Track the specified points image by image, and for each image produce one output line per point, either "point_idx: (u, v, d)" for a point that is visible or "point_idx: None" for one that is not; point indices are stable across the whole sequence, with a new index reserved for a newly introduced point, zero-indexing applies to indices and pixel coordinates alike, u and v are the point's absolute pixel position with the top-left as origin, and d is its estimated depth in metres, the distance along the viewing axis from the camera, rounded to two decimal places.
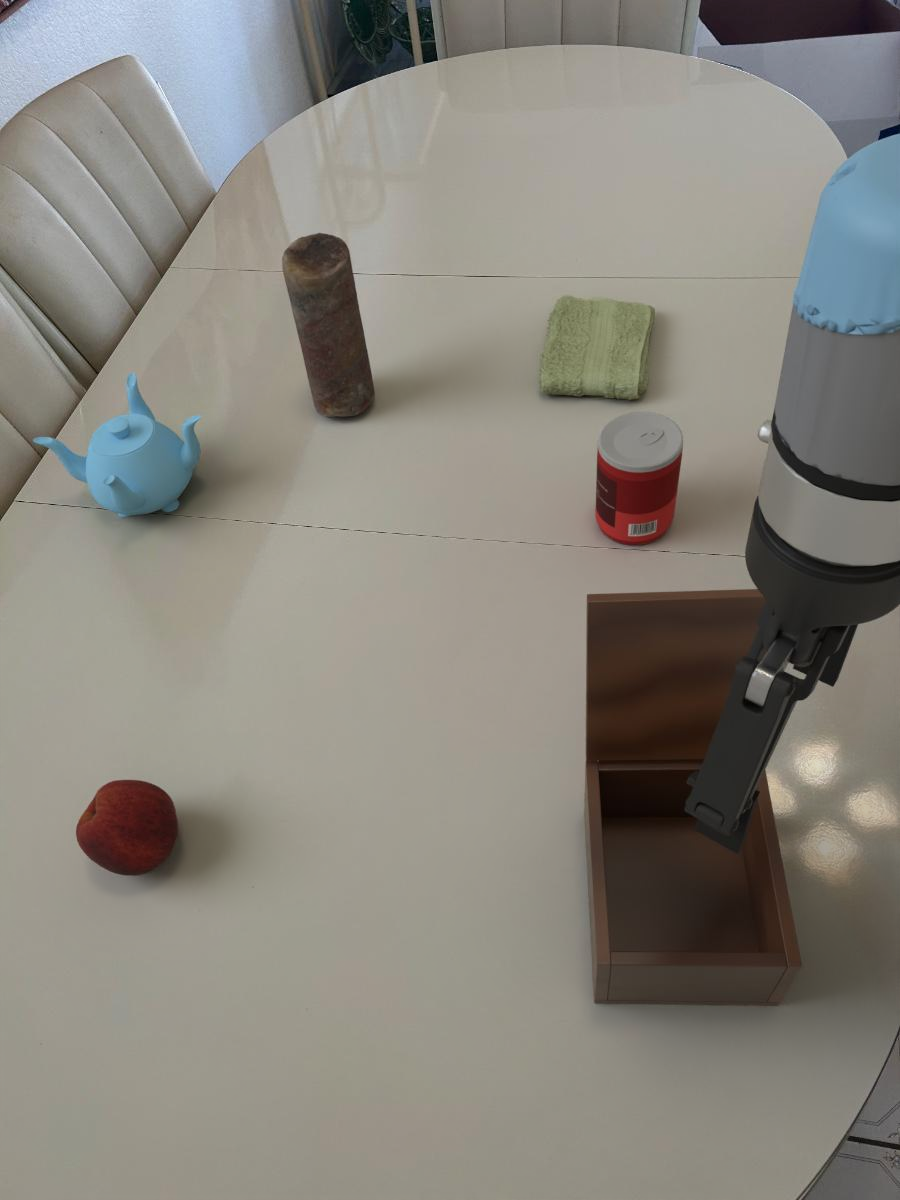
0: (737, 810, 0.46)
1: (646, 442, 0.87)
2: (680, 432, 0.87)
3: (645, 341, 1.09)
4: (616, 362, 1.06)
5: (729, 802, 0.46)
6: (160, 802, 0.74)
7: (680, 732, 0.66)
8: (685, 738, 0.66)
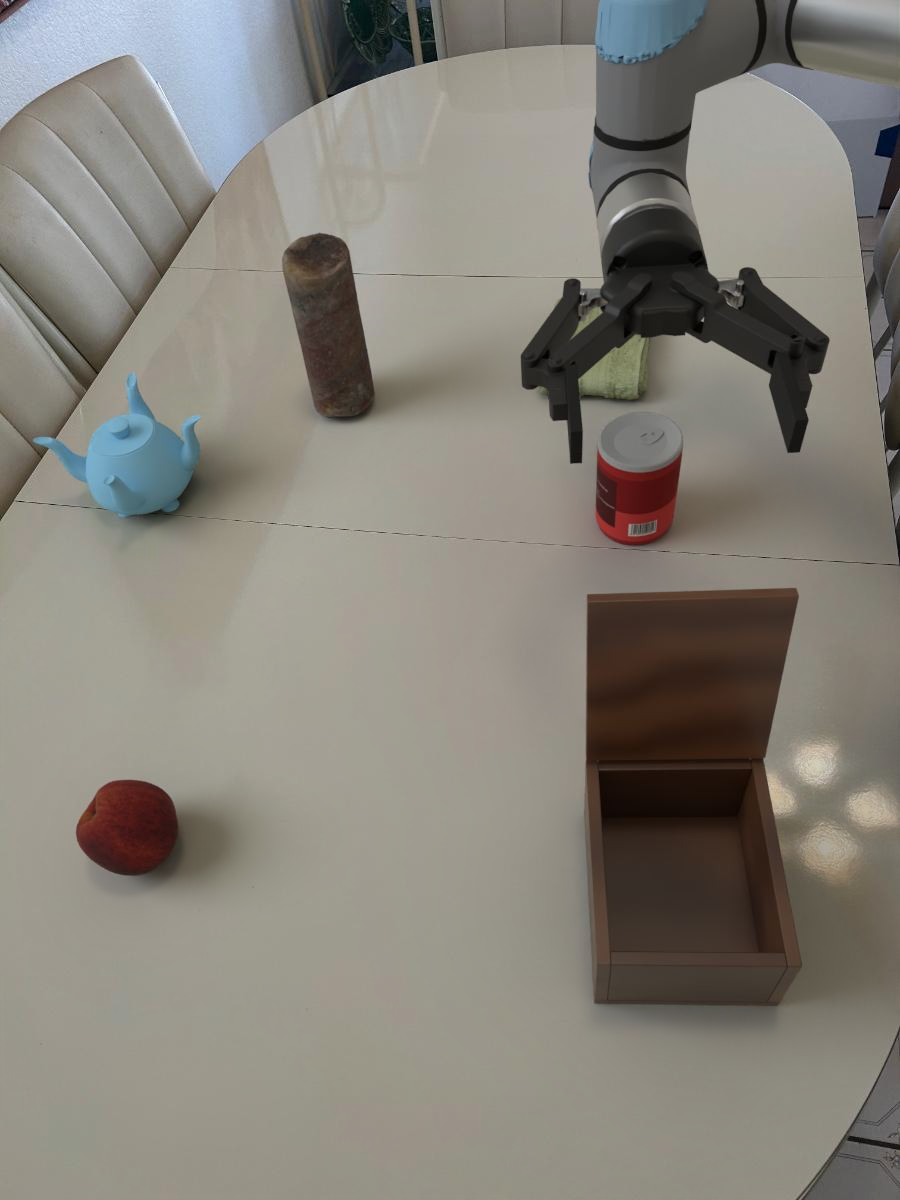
0: (529, 343, 0.64)
1: (646, 442, 0.87)
2: (680, 432, 0.87)
3: (645, 341, 1.09)
4: (616, 362, 1.06)
5: None
6: (160, 802, 0.74)
7: (680, 732, 0.66)
8: (685, 738, 0.66)
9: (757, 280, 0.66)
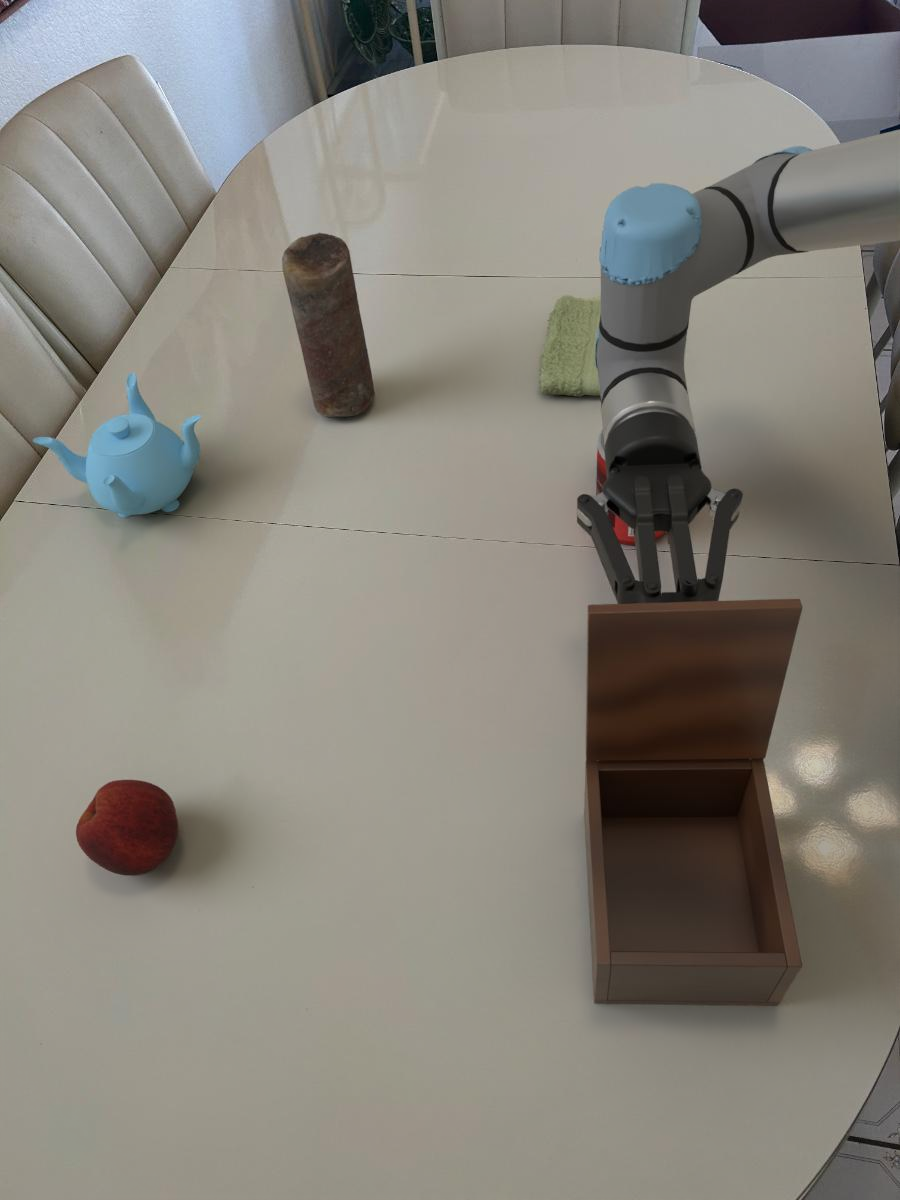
0: (613, 568, 0.68)
1: None
2: None
3: None
4: None
5: (612, 571, 0.69)
6: (160, 802, 0.74)
7: (680, 734, 0.66)
8: (685, 740, 0.66)
9: (732, 504, 0.71)
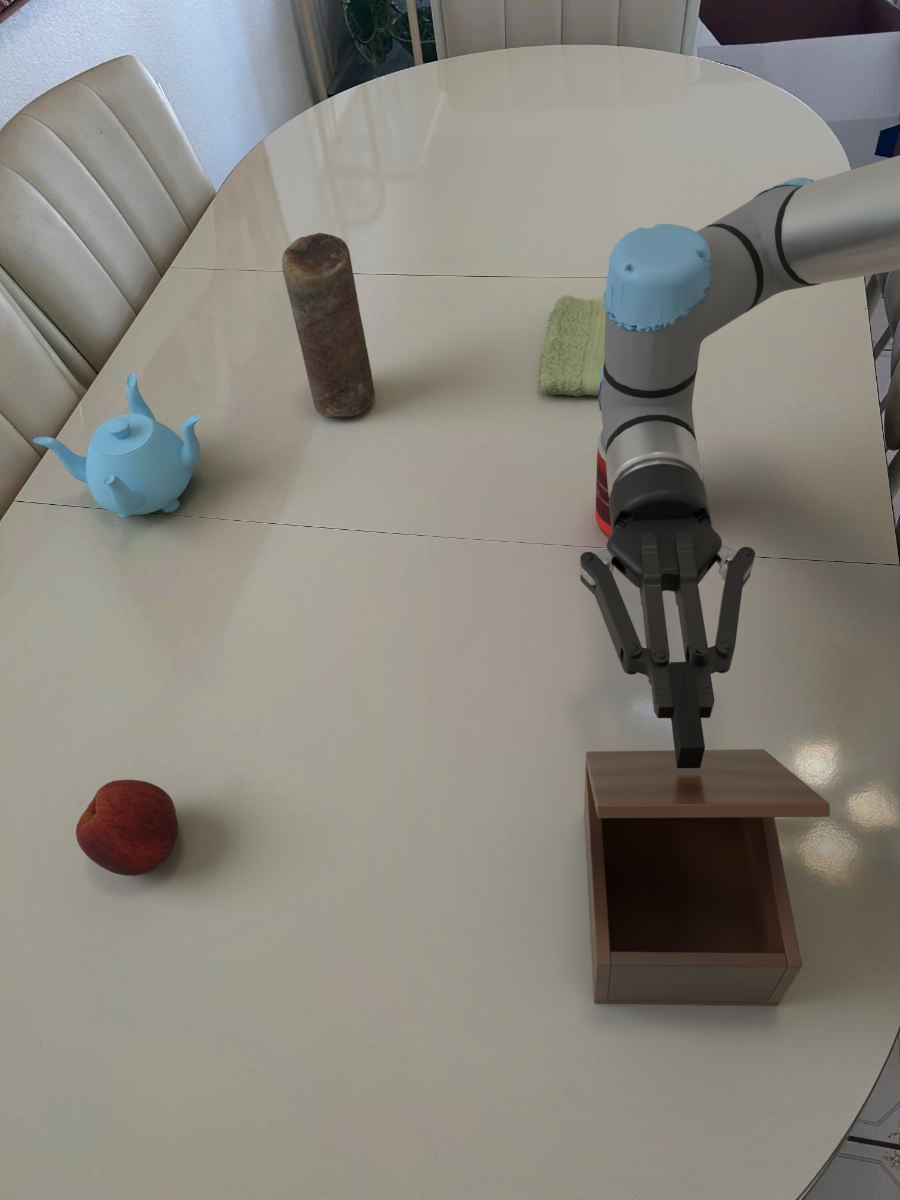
0: (618, 634, 0.65)
1: None
2: None
3: None
4: None
5: (617, 636, 0.65)
6: (160, 802, 0.74)
7: None
8: None
9: (744, 564, 0.67)
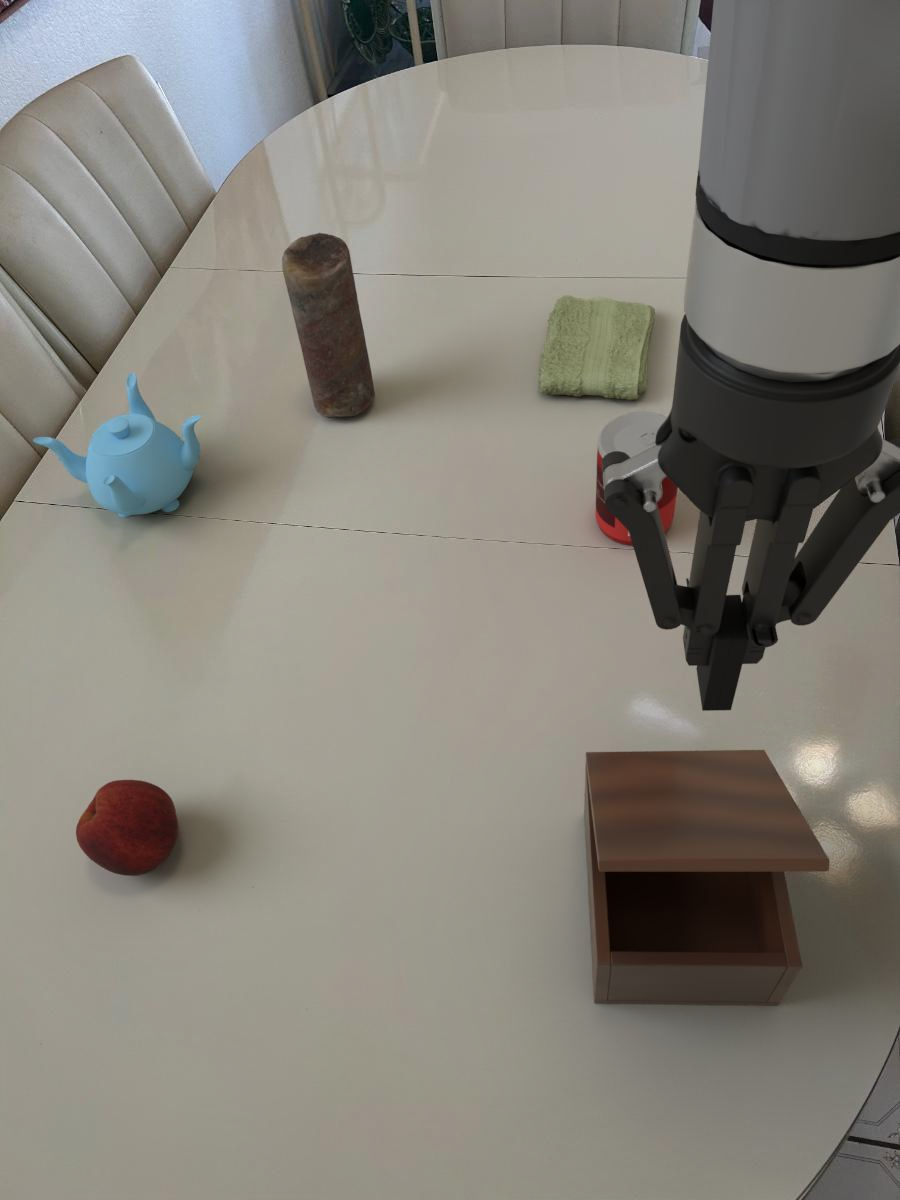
0: (651, 606, 0.43)
1: (646, 442, 0.87)
2: None
3: (645, 341, 1.09)
4: (615, 362, 1.06)
5: None
6: (160, 802, 0.74)
7: None
8: None
9: (896, 510, 0.38)
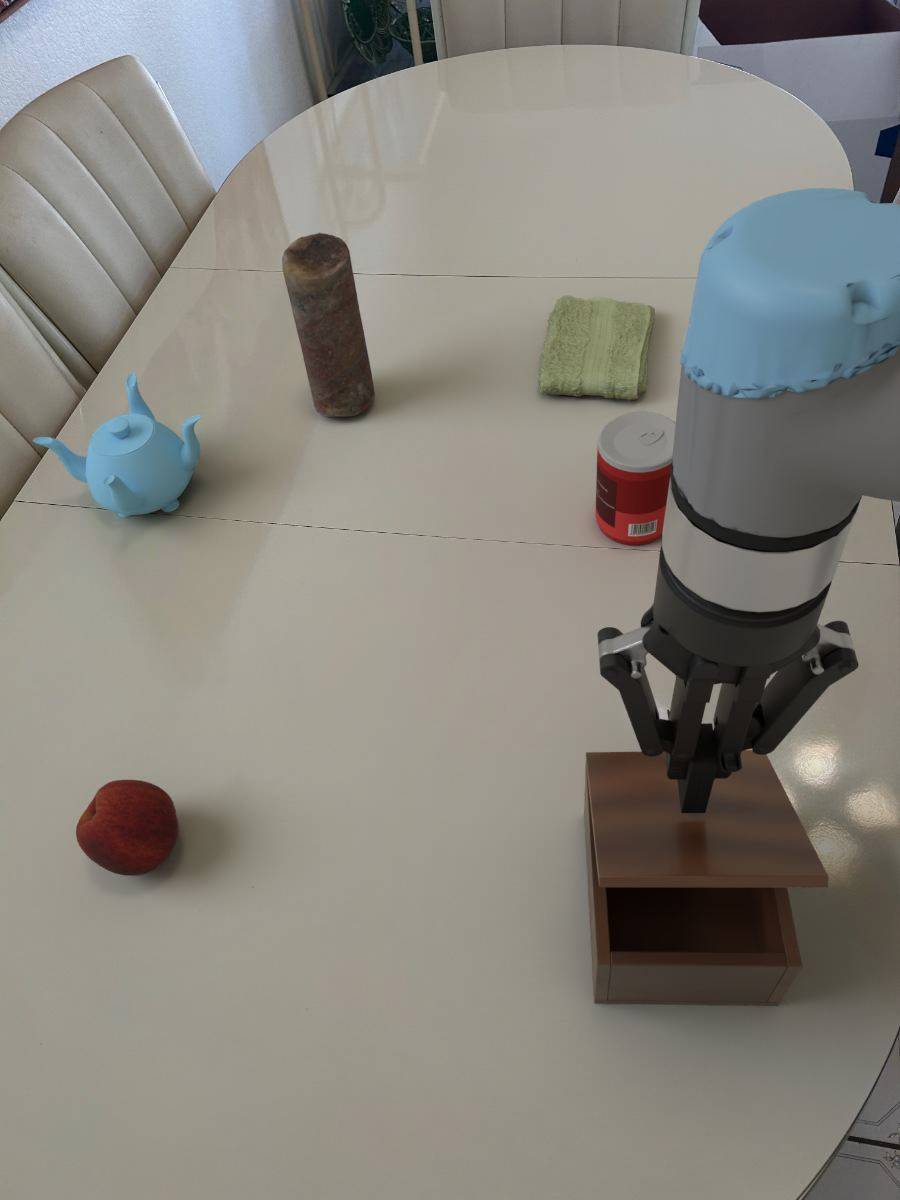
0: None
1: (646, 442, 0.87)
2: None
3: (645, 341, 1.09)
4: (615, 362, 1.06)
5: None
6: (160, 802, 0.74)
7: None
8: None
9: (833, 679, 0.47)
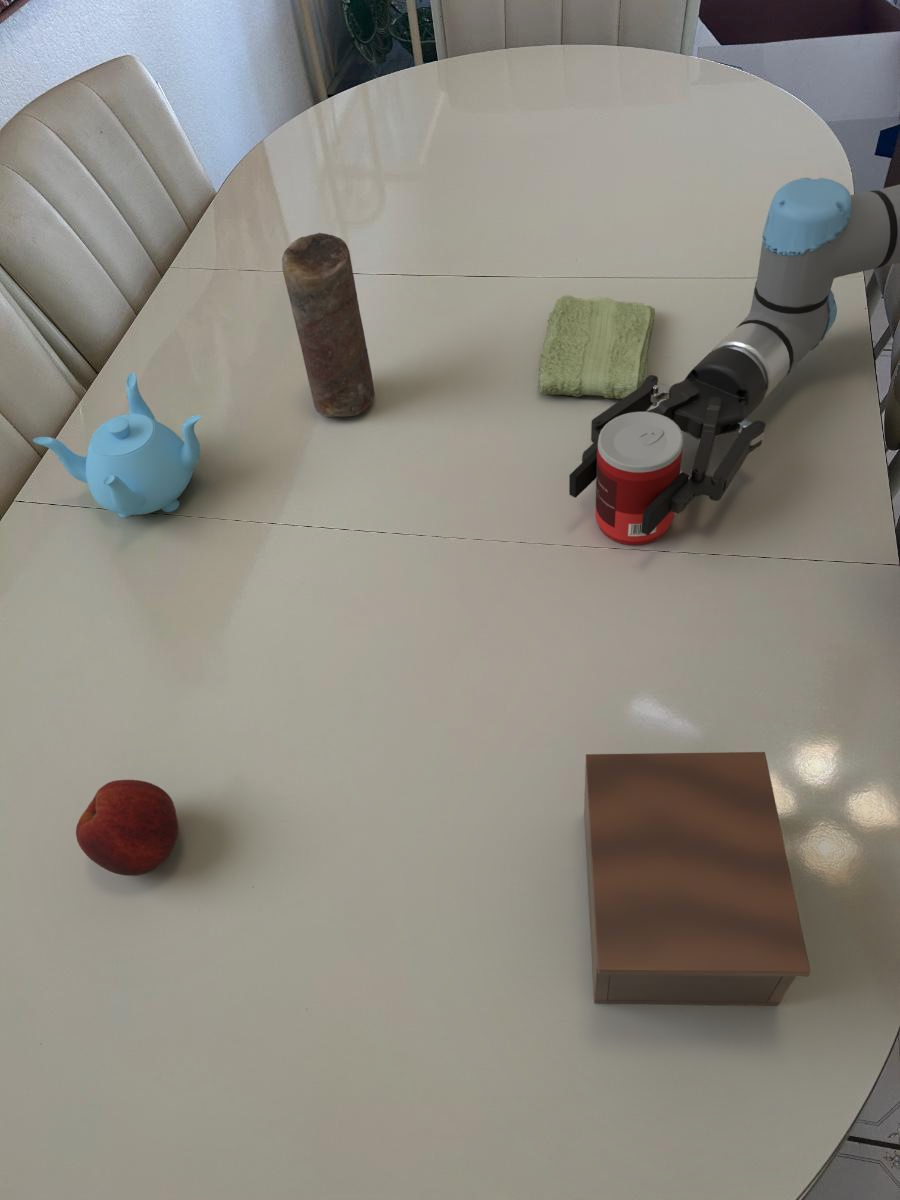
0: (602, 413, 0.95)
1: (646, 442, 0.87)
2: (680, 432, 0.87)
3: (645, 341, 1.09)
4: (615, 362, 1.06)
5: None
6: (160, 802, 0.74)
7: None
8: None
9: (754, 431, 0.91)
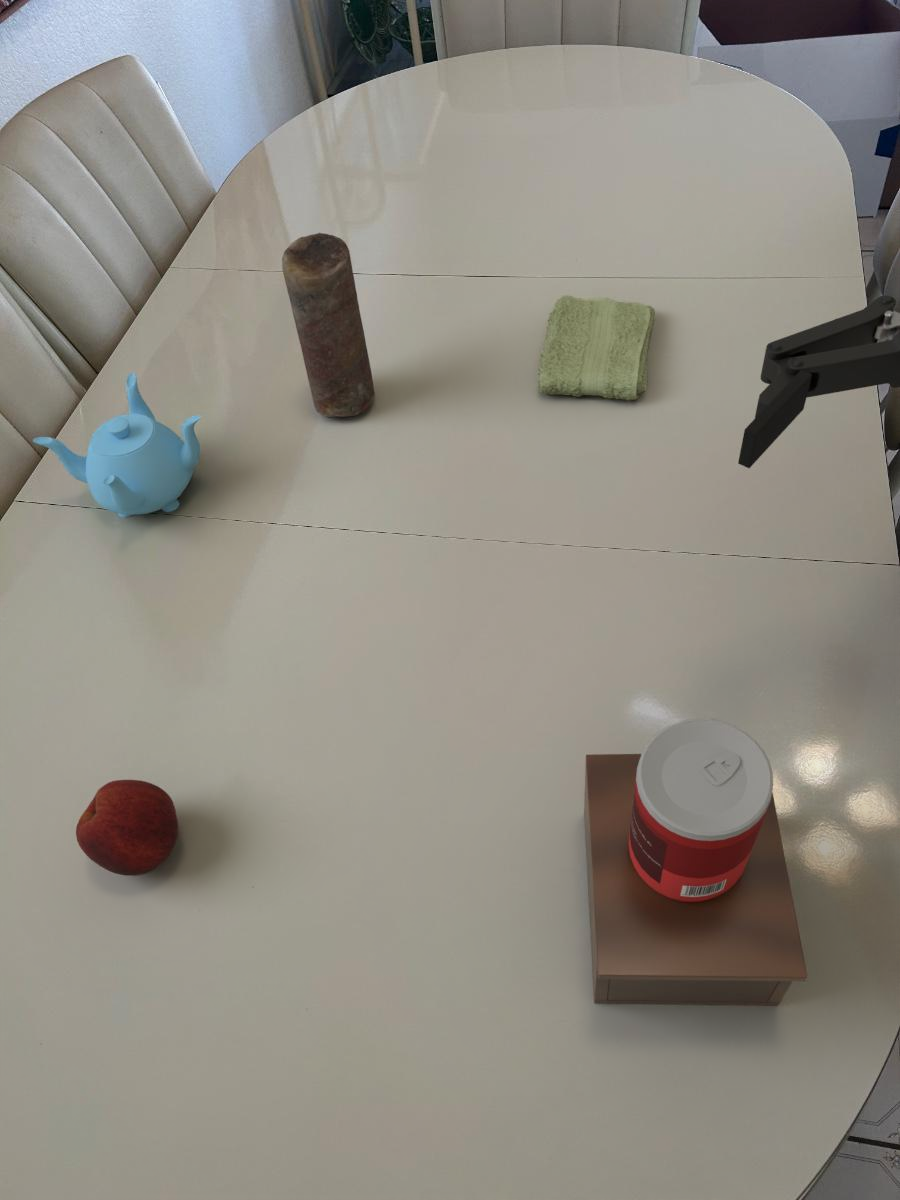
0: (789, 336, 0.59)
1: (714, 779, 0.55)
2: (768, 764, 0.55)
3: (644, 341, 1.09)
4: (615, 362, 1.06)
5: None
6: (160, 802, 0.74)
7: None
8: None
9: None
